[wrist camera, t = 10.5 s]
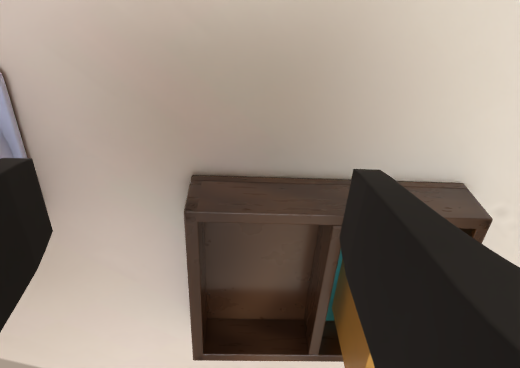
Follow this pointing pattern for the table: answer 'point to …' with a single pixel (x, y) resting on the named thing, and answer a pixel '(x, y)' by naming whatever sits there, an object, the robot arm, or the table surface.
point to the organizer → (280, 262)
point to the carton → (349, 326)
